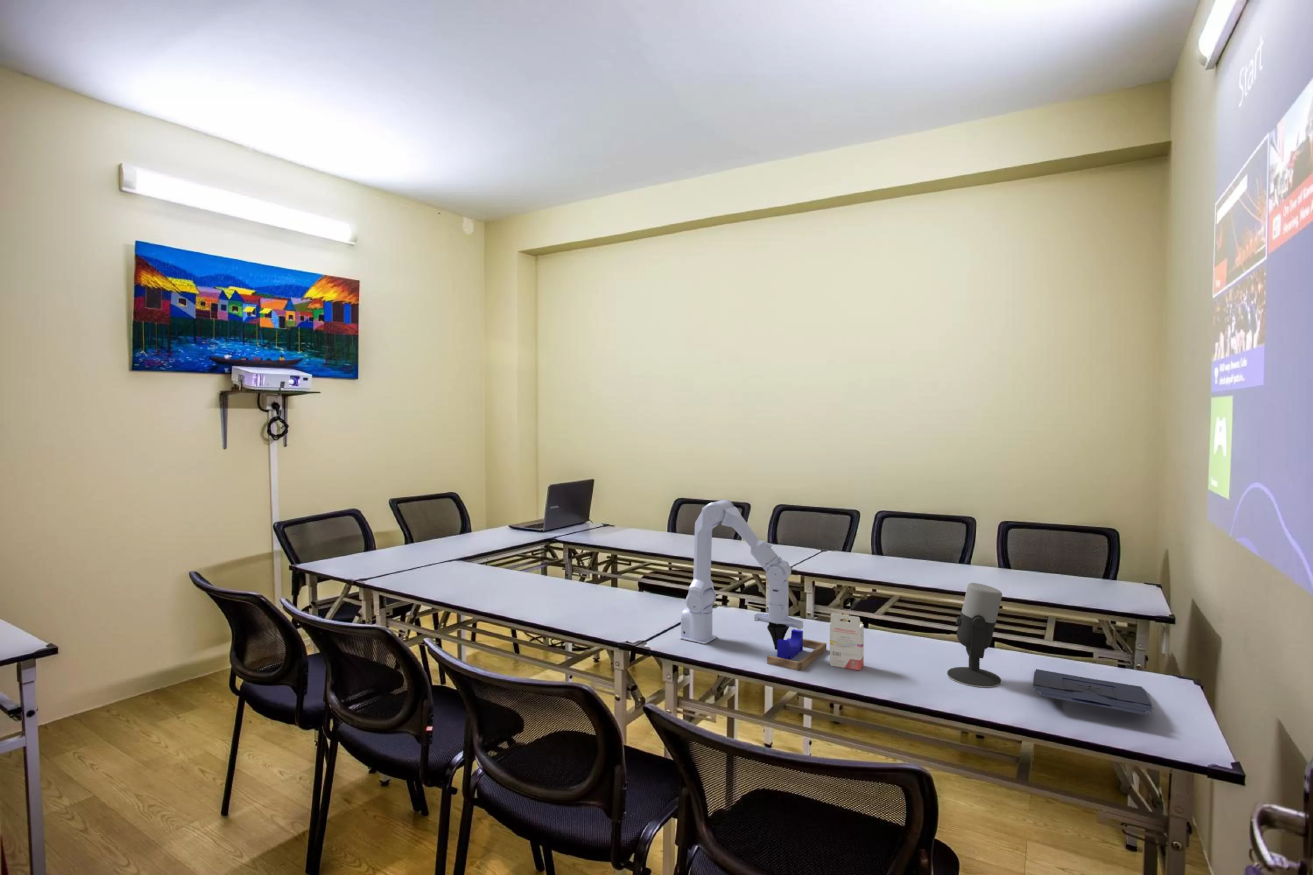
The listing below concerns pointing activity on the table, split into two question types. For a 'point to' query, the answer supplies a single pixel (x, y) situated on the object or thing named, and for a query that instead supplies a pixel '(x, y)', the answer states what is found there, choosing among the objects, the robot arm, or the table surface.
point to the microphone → (977, 634)
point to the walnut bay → (800, 665)
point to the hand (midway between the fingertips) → (778, 648)
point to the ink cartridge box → (846, 642)
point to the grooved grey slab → (1092, 691)
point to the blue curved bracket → (790, 645)
